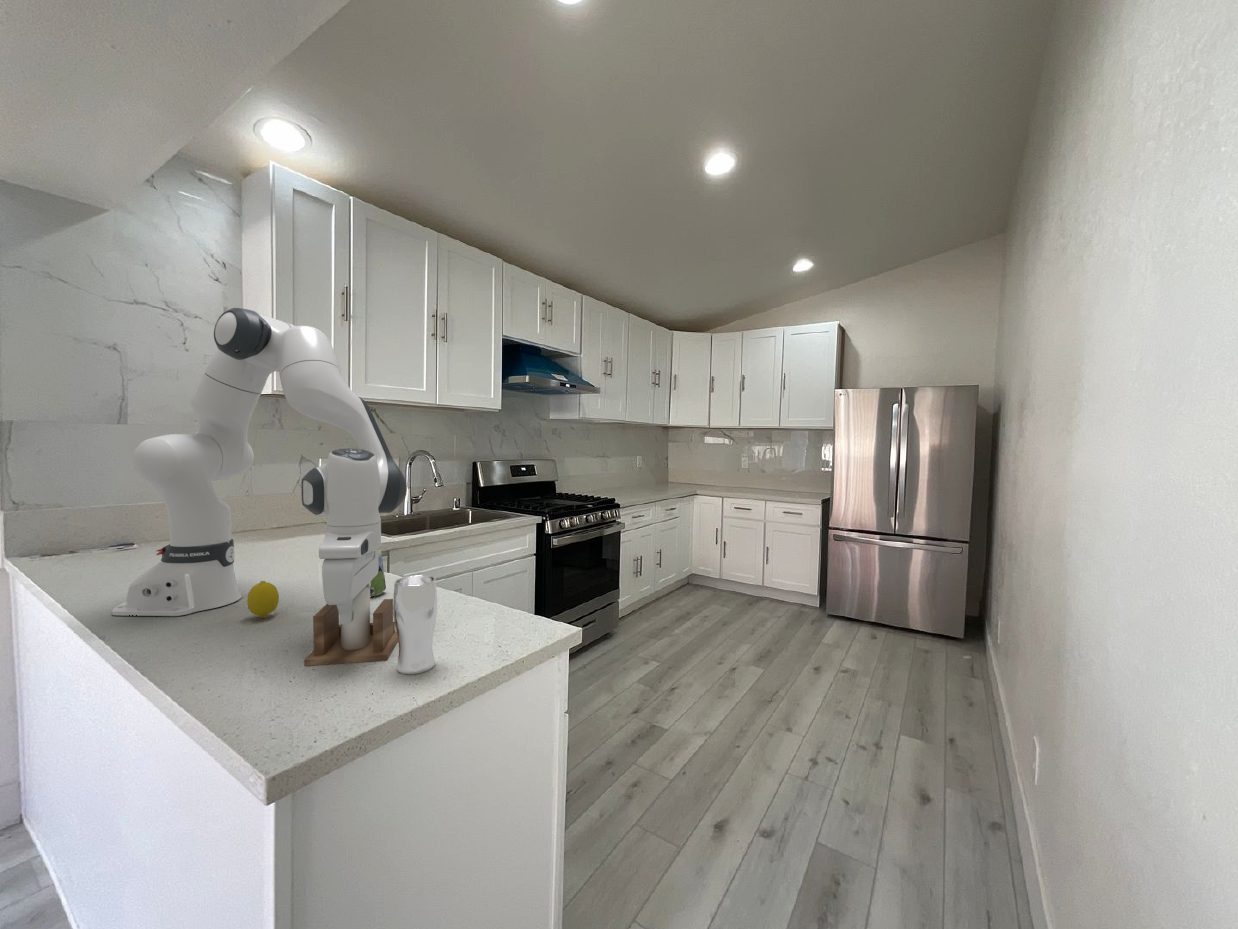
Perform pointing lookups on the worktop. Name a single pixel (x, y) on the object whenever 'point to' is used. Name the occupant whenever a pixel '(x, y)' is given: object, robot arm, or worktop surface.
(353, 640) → the roll
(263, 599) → the lemon
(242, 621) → the worktop surface
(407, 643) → the beer glass
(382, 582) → the beverage can
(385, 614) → the holder
